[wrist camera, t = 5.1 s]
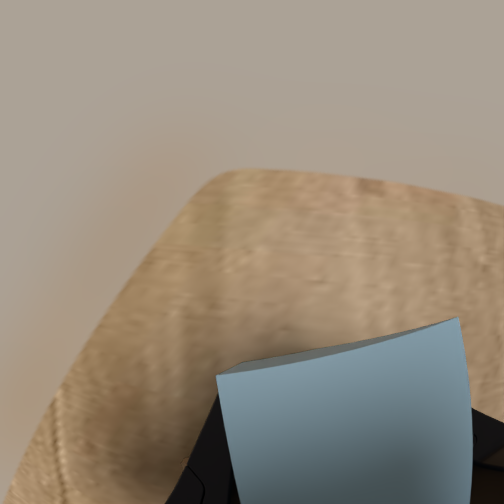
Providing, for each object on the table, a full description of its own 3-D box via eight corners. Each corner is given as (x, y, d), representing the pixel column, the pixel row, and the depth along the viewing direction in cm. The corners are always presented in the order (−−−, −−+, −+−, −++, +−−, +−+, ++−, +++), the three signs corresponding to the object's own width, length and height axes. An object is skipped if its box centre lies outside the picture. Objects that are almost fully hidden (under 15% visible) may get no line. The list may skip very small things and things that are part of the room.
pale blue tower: (328, 418, 14) (469, 506, 3) (254, 433, 14) (260, 579, 3) (316, 348, 15) (458, 317, 4) (242, 362, 15) (215, 375, 4)
